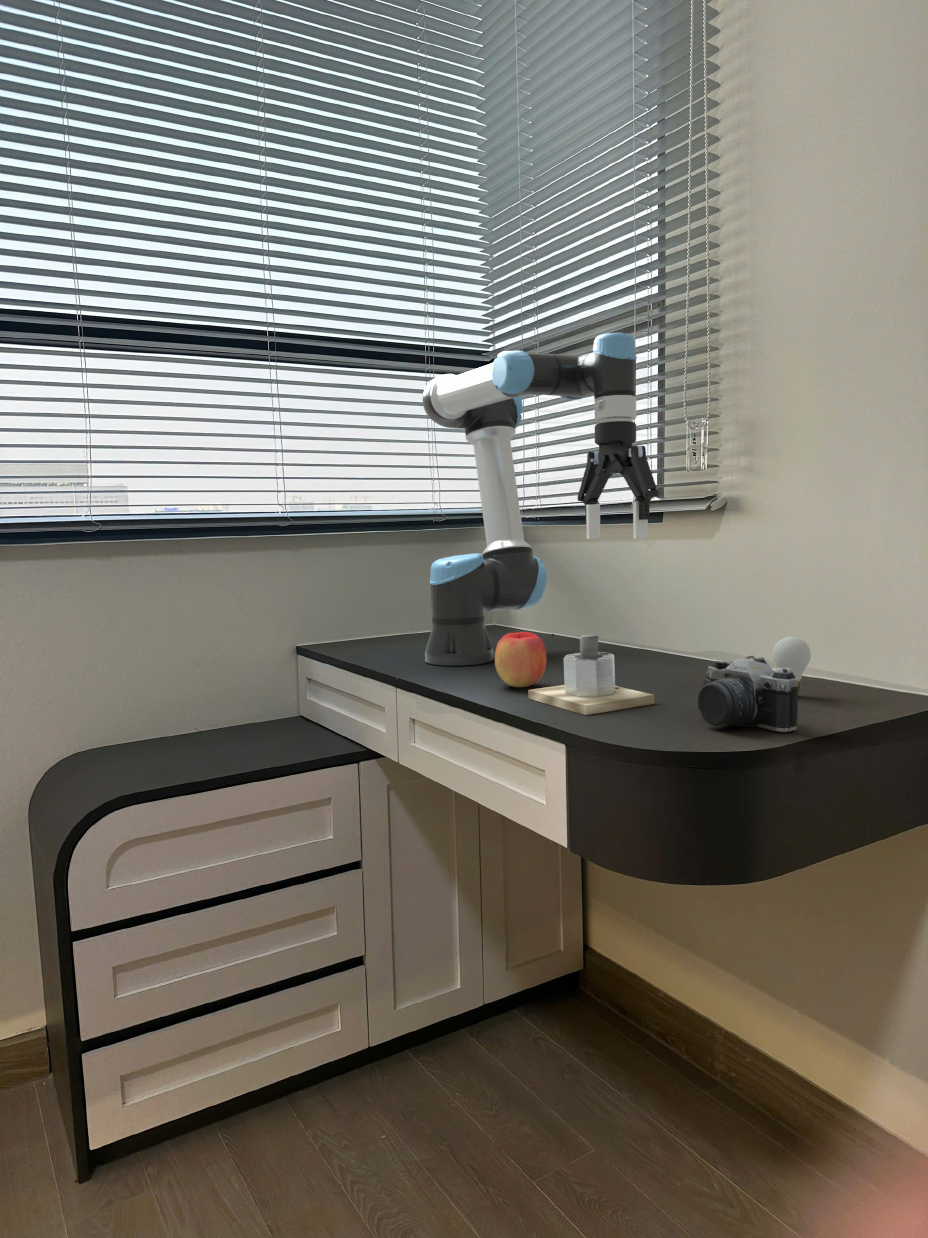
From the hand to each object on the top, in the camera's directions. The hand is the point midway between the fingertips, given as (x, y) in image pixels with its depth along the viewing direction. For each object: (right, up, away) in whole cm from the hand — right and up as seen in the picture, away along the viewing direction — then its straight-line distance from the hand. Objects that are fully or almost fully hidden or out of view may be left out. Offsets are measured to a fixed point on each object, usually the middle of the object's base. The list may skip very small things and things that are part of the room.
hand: (616, 538), depth 160 cm
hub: (-7, -27, -15) cm, 32 cm away
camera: (+11, -31, -35) cm, 48 cm away
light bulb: (+27, -28, -16) cm, 42 cm away
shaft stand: (-7, -29, -15) cm, 33 cm away
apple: (-18, -28, 0) cm, 33 cm away
